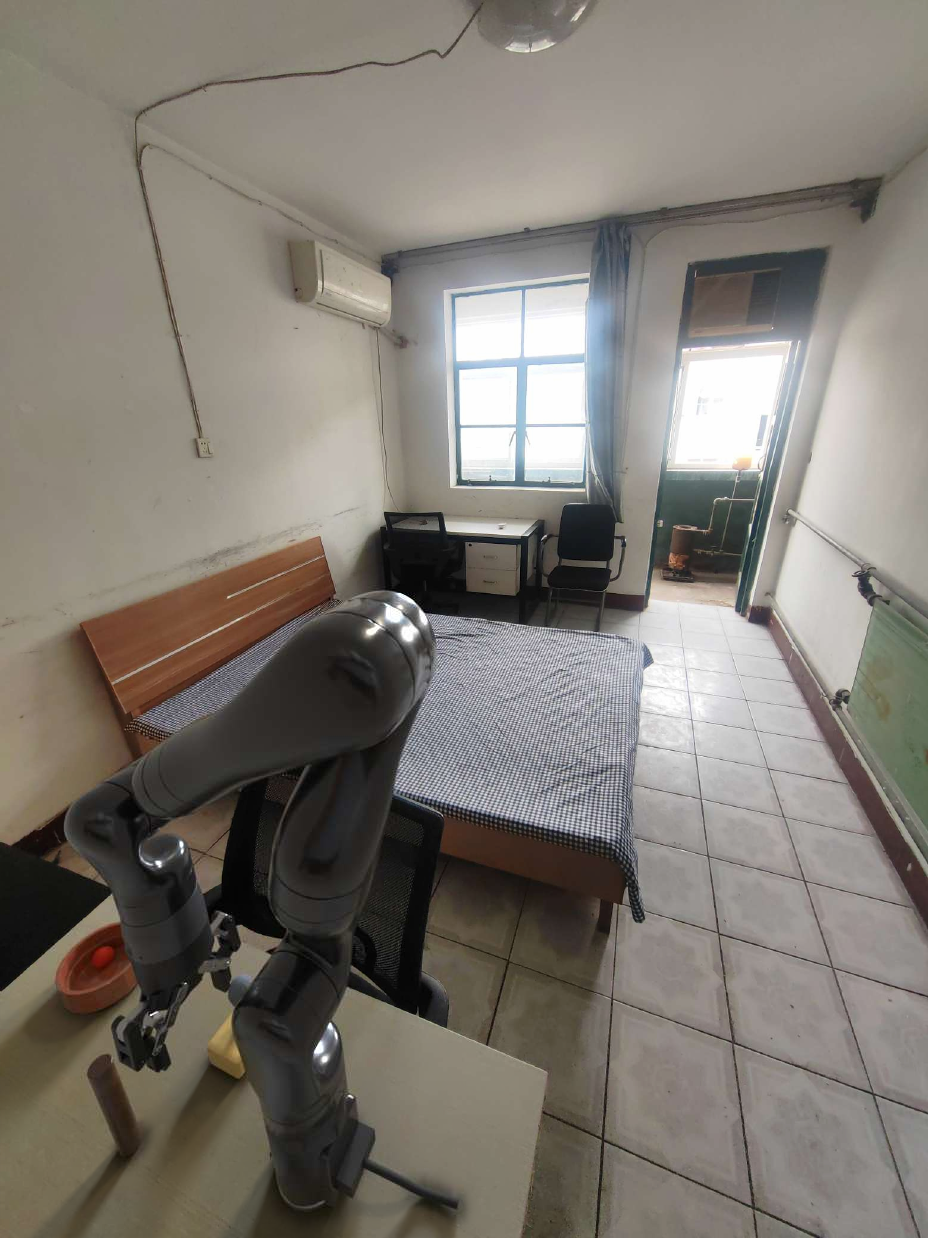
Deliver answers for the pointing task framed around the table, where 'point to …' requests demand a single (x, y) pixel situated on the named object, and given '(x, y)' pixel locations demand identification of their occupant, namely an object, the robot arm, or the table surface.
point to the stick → (114, 1104)
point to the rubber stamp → (229, 1034)
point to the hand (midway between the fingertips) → (194, 1023)
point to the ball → (103, 957)
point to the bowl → (95, 972)
